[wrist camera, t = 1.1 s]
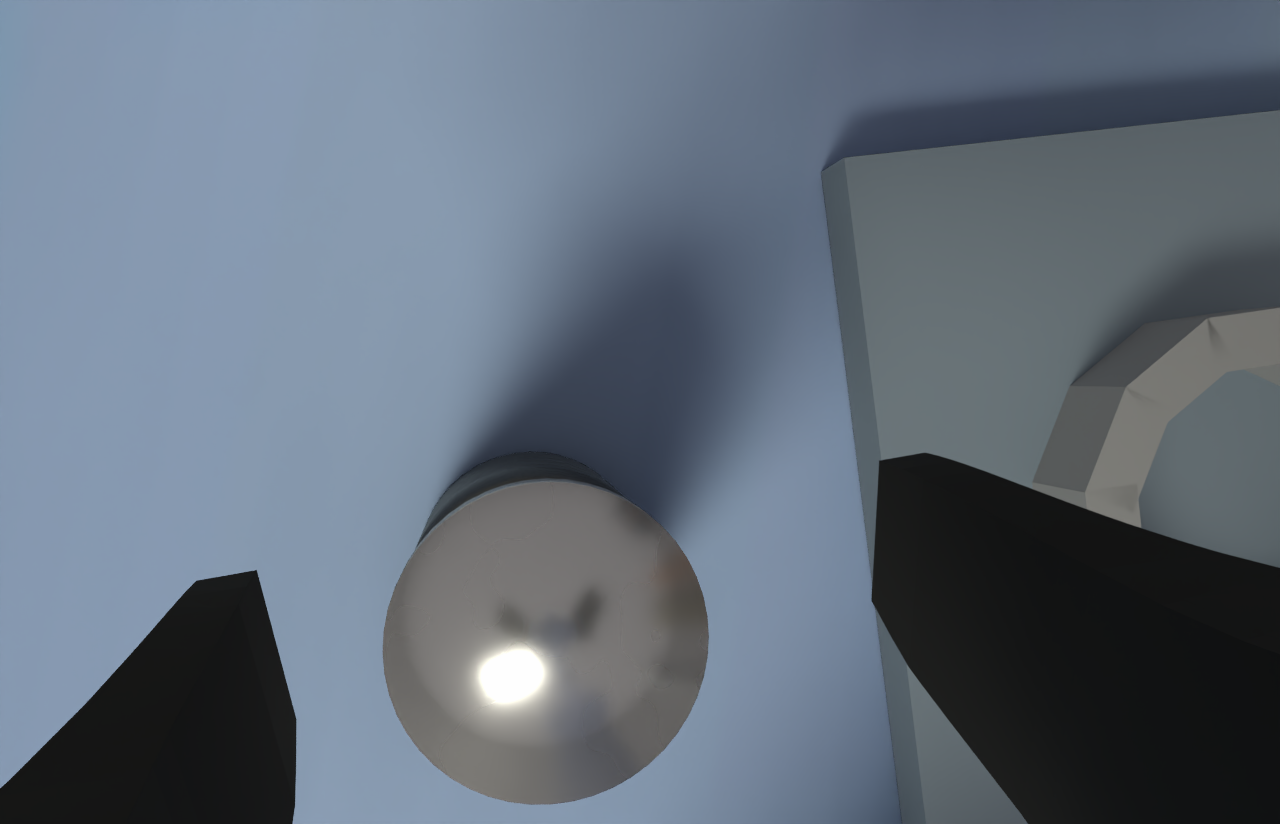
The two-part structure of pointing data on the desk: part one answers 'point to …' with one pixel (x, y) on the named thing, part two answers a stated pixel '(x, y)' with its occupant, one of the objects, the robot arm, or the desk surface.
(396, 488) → the desk surface
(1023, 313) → the mount plate
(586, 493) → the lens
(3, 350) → the desk surface
